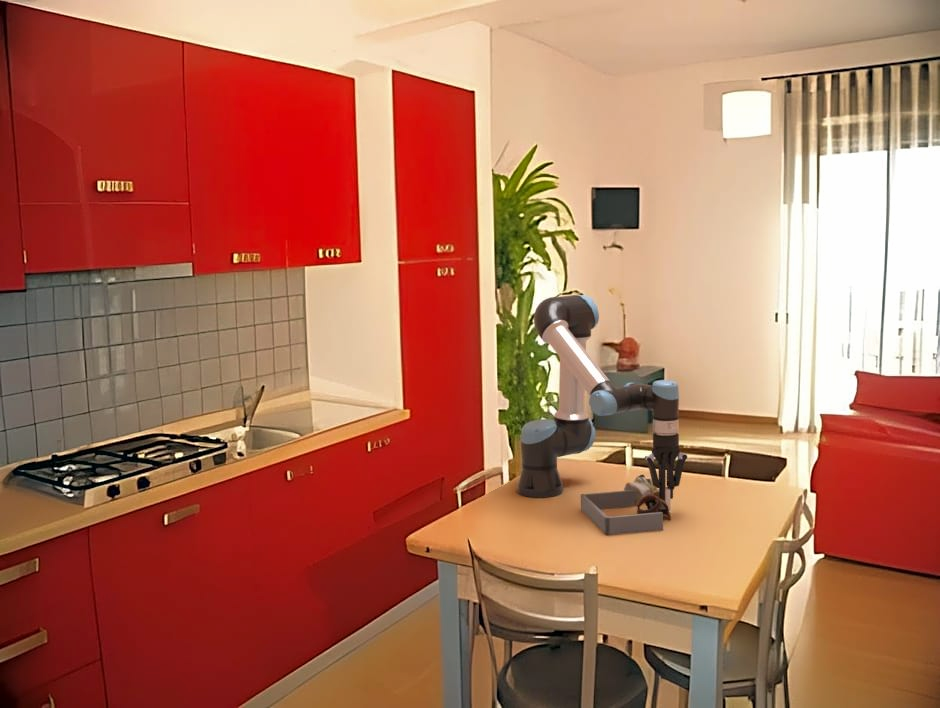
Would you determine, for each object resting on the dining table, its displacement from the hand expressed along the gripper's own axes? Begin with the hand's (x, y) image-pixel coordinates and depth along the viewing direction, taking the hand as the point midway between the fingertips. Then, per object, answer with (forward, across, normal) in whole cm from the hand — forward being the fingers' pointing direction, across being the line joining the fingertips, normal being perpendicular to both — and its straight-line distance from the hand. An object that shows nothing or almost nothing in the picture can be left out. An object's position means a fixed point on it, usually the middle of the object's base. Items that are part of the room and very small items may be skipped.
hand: (666, 509), depth 262 cm
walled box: (+2, -14, 0) cm, 14 cm away
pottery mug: (+2, -5, -2) cm, 6 cm away
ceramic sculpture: (+2, -1, +16) cm, 17 cm away
